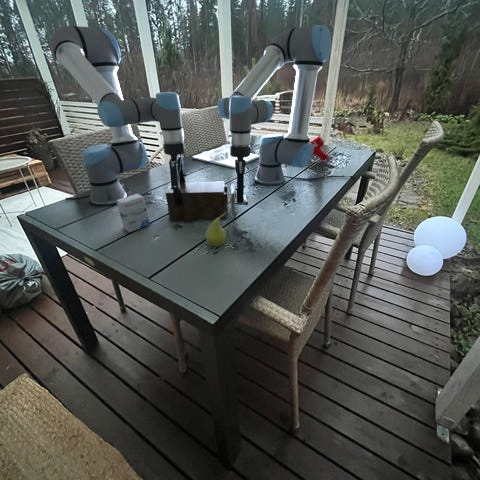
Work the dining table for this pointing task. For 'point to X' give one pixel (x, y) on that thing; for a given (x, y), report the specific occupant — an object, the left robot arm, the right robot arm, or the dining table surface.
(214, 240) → the fruit
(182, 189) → the cabinet
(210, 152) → the relief map
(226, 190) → the drawer
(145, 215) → the ink box
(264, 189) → the dining table surface
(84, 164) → the left robot arm
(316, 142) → the toy gun
